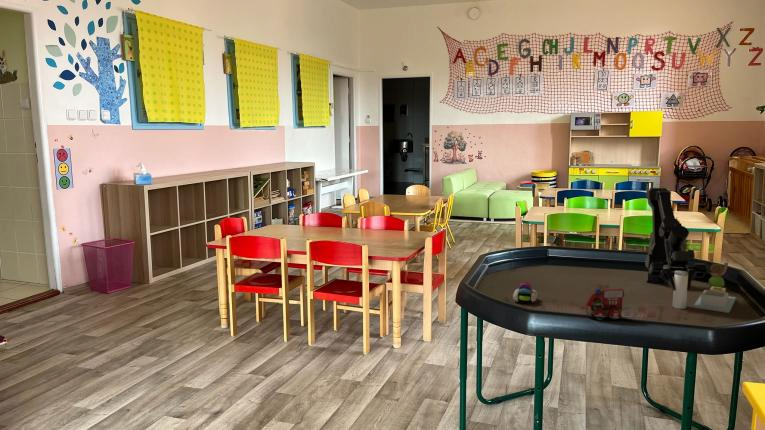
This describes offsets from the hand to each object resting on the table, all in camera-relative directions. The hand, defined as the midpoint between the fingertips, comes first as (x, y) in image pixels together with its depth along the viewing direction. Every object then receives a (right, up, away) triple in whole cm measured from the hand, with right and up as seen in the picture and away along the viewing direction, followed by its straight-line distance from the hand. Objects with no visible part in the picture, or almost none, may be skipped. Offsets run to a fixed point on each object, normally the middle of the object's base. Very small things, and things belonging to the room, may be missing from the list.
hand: (681, 290), depth 214 cm
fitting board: (+15, -6, +5) cm, 17 cm away
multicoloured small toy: (-53, -6, +13) cm, 55 cm away
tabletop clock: (+18, +2, +50) cm, 53 cm away
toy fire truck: (-30, -9, -7) cm, 32 cm away
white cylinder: (0, -6, +2) cm, 7 cm away
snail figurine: (+26, -3, +23) cm, 35 cm away
